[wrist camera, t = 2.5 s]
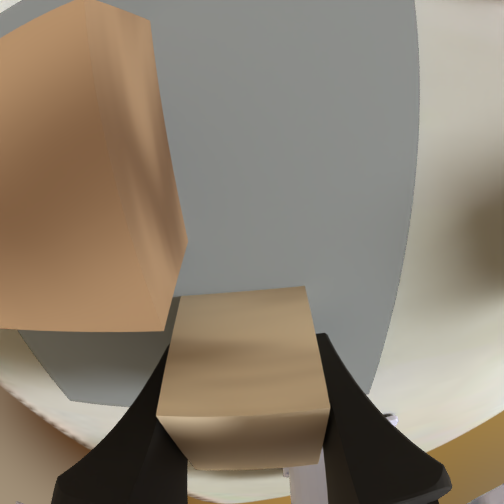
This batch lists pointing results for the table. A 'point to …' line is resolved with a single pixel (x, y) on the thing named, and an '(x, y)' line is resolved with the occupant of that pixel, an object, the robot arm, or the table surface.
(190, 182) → the mat
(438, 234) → the table surface
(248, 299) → the birch block
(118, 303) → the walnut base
